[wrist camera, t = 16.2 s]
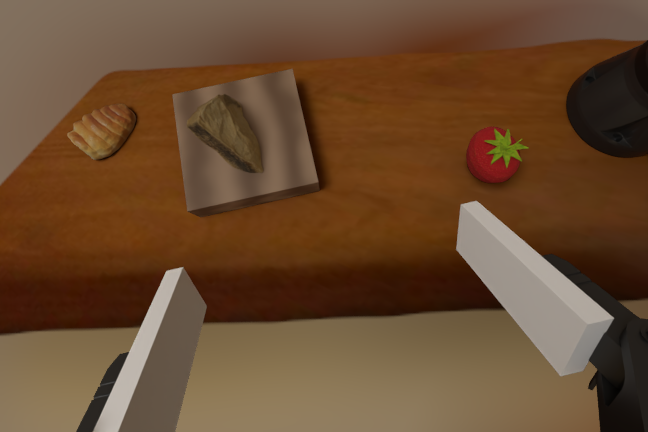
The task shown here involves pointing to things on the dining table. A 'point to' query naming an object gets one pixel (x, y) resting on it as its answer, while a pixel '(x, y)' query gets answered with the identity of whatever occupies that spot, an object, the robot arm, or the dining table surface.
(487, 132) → the strawberry
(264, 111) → the walnut base
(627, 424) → the robot arm
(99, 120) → the pastry
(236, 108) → the rock
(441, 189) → the dining table surface
